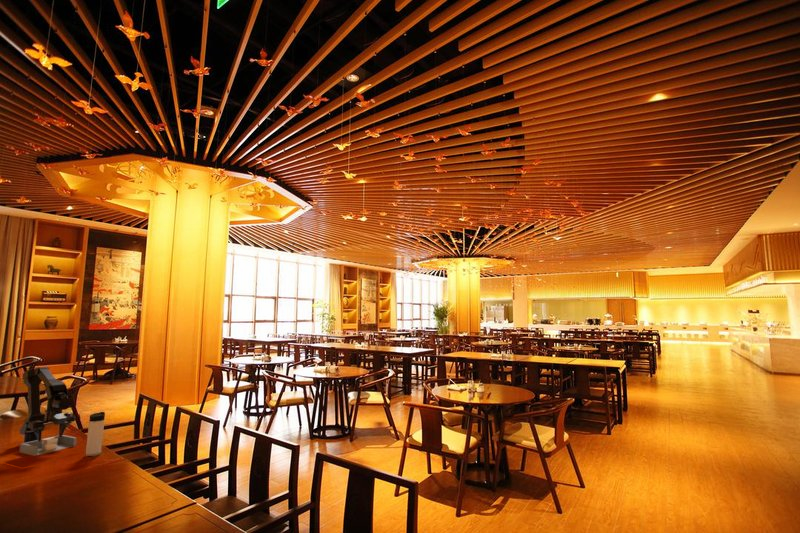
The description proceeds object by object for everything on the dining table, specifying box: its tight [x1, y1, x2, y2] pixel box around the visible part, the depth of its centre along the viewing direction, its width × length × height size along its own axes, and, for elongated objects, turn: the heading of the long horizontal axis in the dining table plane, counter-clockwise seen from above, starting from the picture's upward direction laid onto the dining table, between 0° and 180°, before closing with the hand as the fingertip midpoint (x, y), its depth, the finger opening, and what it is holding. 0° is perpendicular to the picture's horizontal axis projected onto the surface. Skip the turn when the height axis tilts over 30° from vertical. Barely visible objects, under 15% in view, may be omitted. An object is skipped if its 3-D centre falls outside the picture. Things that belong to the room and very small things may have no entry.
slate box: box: [19, 434, 77, 457], centre depth 212 cm, size 13×18×4 cm
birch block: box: [41, 436, 58, 451], centre depth 212 cm, size 4×4×5 cm
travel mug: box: [85, 411, 106, 457], centre depth 207 cm, size 6×7×20 cm
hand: (50, 439), depth 213 cm, fingers open, 9 cm apart
